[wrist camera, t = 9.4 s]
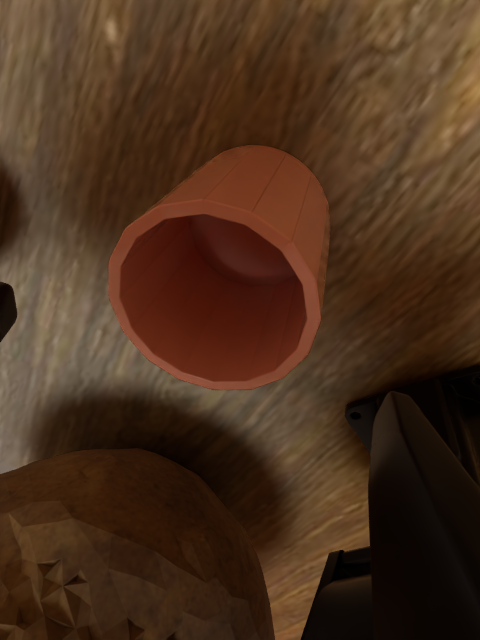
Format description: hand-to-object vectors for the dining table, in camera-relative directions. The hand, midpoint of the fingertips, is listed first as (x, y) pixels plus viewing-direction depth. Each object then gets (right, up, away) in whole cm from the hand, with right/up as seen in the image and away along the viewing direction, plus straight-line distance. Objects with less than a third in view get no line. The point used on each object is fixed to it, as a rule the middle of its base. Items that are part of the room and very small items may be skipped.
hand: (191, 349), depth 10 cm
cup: (+2, +5, +7) cm, 8 cm away
